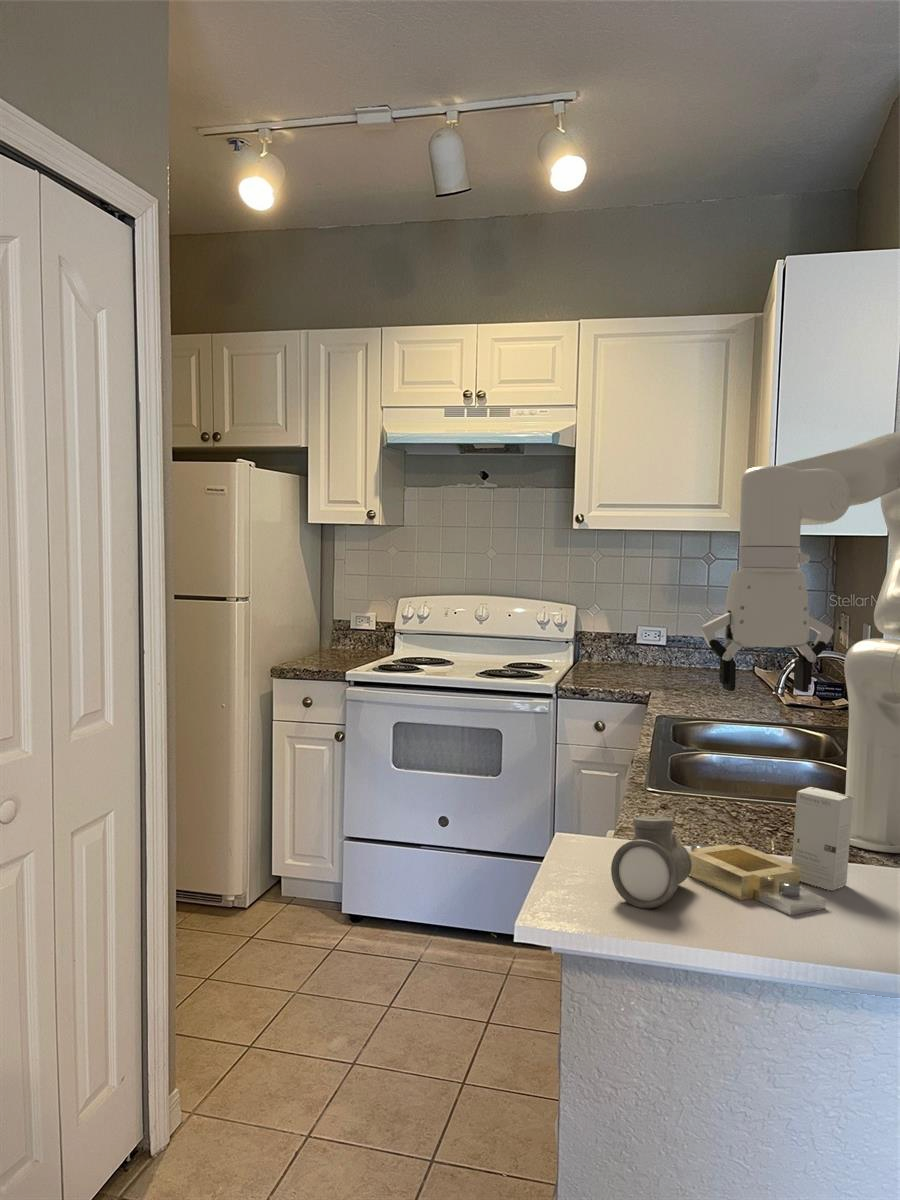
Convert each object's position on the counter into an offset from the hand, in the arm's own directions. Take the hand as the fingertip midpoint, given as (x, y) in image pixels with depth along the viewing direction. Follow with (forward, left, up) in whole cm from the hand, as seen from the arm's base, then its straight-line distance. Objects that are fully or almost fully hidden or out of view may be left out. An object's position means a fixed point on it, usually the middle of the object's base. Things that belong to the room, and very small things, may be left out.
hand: (764, 690), depth 117 cm
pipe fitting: (+16, -1, -26) cm, 30 cm away
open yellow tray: (+2, 0, -26) cm, 26 cm away
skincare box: (-8, +4, -26) cm, 27 cm away
